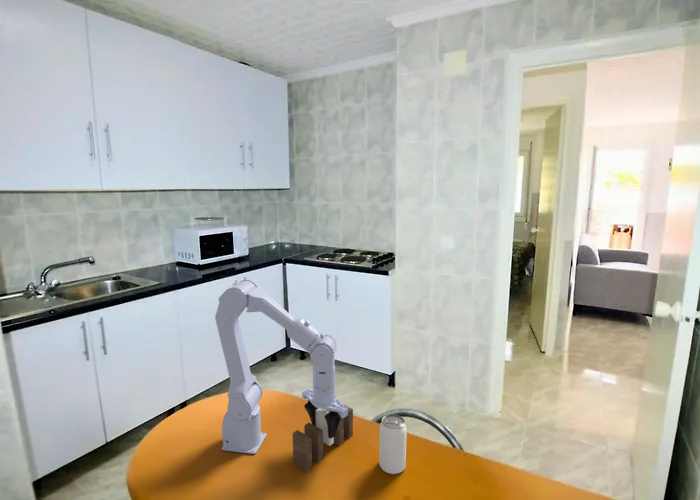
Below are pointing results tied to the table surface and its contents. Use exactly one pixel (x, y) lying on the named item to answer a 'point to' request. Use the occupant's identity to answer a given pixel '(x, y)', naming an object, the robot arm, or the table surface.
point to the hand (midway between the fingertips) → (324, 432)
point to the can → (392, 444)
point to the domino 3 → (323, 425)
